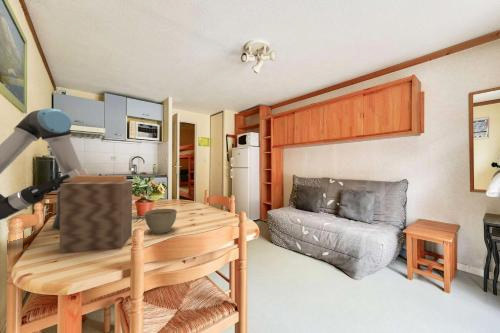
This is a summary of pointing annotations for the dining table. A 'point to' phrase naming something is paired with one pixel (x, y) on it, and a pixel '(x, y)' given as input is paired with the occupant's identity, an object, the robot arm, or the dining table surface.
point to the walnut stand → (95, 216)
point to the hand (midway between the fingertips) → (81, 171)
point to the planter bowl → (160, 220)
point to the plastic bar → (97, 179)
